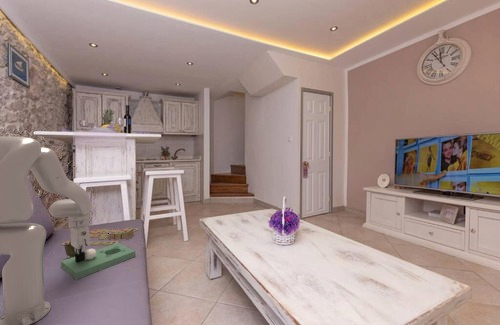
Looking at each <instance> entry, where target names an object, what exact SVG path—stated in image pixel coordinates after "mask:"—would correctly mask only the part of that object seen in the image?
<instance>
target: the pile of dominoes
mask: <svg viewBox="0 0 500 325" xmlns="http://www.w3.org/2000/svg"><path fill="white" fill-rule="evenodd" d="M110 229H112V230H110ZM113 229H114V228H108V229H105V228H101V229H99V228H95V229H93V230H92V229H91V230H89V234H90V238H98V240H99V241H90V246H110V245H113V244H116V243H119V242H120V240H119V241H118V240H115V239H121V240H122V239H128V240H129V239H130V238H132V237H133V236H134V233H135V232H138V231H139V230H140V228H138V227H137V228H134V227H126V228H122V229H123V230H119V229H120V228H117V229H118V230H115V229H116V228H115V229H114V230H113ZM92 233H93V234H92ZM97 233H98V234H97ZM101 233H102V234H101ZM103 233H105V234H103ZM108 233H109V234H108ZM131 236H132V237H131ZM107 237H108V238H107ZM106 238H107V239H108V240H109V239H114V240H109V241H102V240H104V239H105V240H107V239H106ZM100 240H101V241H100ZM69 242H70V239H69V240H66V241H65V242H63V243H61V244H60V246H61V247H62V246H64V244H66V243H67V244H69ZM64 247H65V246H64Z"/></svg>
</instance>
